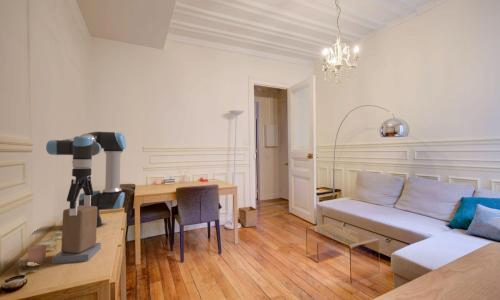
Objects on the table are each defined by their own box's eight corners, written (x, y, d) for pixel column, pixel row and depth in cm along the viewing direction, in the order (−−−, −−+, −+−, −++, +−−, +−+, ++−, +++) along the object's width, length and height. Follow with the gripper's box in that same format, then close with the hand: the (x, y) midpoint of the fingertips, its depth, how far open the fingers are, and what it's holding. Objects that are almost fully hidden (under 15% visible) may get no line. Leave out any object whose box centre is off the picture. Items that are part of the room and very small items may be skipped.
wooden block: (79, 254, 102) (80, 210, 103) (60, 252, 104) (62, 209, 104) (96, 245, 112) (98, 206, 113) (79, 244, 113) (81, 205, 114)
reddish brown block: (33, 260, 102) (33, 245, 102) (48, 259, 103) (49, 244, 103) (23, 267, 96) (24, 250, 96) (39, 265, 97) (40, 249, 97)
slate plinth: (69, 250, 113) (69, 244, 113) (100, 248, 116) (100, 242, 116) (52, 263, 99) (52, 257, 99) (88, 260, 102) (88, 254, 103)
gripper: (85, 166, 120) (84, 205, 120) (57, 170, 96) (56, 219, 96) (101, 166, 122) (99, 205, 122) (77, 170, 98) (76, 218, 97)
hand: (80, 211), depth 109 cm, fingers open, 13 cm apart
